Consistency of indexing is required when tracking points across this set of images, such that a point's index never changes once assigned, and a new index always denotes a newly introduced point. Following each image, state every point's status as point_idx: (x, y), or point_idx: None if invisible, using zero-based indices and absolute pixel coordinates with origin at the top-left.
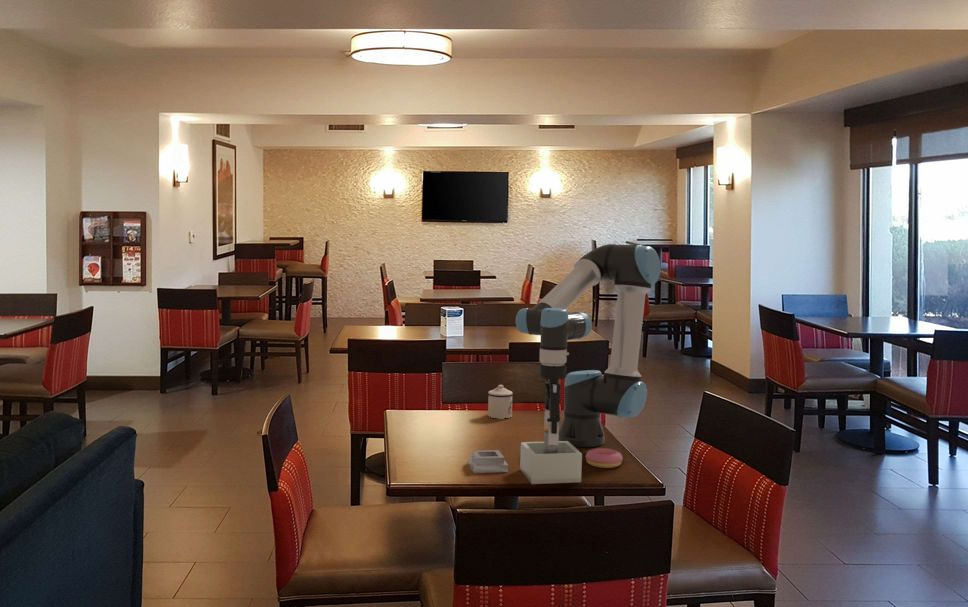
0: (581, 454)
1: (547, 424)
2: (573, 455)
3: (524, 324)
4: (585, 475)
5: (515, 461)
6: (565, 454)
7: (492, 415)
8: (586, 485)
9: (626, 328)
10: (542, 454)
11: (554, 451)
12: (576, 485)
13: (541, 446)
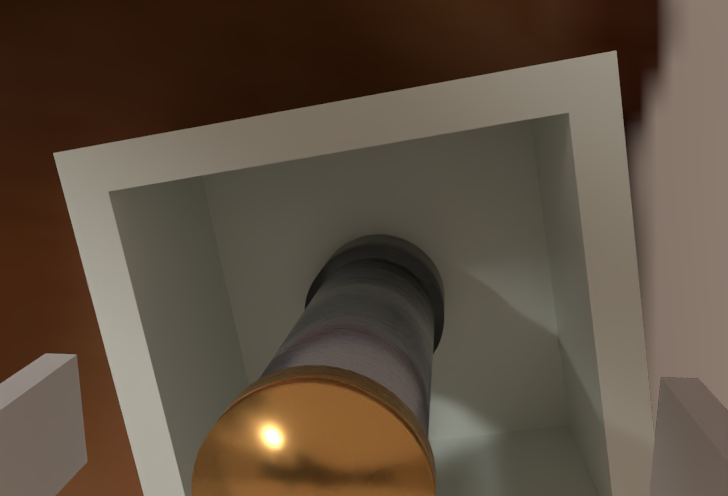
0: (616, 57)
1: (26, 488)
2: (623, 154)
3: None
4: (364, 4)
5: None
6: (634, 248)
7: None
8: (645, 29)
9: None
10: (638, 487)
11: (425, 333)
12: (642, 113)
13: (185, 420)
